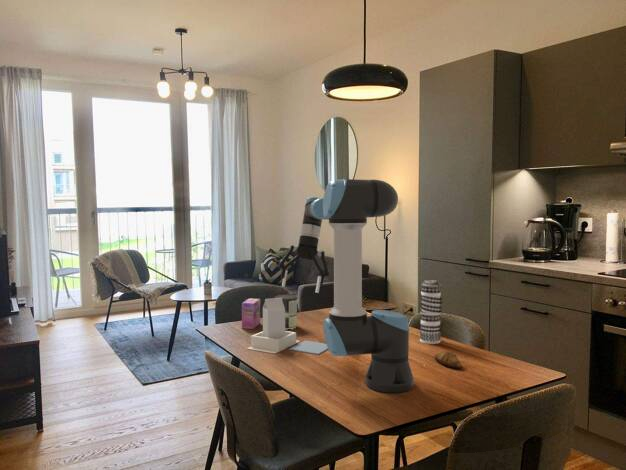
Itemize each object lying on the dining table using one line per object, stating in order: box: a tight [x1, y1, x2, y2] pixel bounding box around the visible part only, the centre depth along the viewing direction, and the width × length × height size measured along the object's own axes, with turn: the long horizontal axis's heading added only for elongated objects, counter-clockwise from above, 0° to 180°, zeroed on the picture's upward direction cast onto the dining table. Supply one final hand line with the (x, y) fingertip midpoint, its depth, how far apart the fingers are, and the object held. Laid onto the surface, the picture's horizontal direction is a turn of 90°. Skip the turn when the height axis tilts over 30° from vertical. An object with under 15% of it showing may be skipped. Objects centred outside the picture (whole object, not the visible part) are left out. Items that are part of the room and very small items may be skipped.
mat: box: [288, 340, 329, 355], centre depth 207 cm, size 13×13×1 cm
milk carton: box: [262, 297, 286, 339], centre depth 210 cm, size 7×7×19 cm
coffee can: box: [274, 293, 298, 331], centre depth 239 cm, size 10×10×14 cm
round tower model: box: [419, 279, 443, 345], centre depth 216 cm, size 9×9×25 cm
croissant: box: [434, 350, 462, 370], centre depth 187 cm, size 14×7×5 cm, turn 24°
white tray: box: [246, 330, 301, 355], centre depth 211 cm, size 19×13×4 cm
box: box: [241, 297, 261, 330], centre depth 241 cm, size 10×6×12 cm, turn 168°
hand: (300, 289), depth 205 cm, fingers open, 13 cm apart
